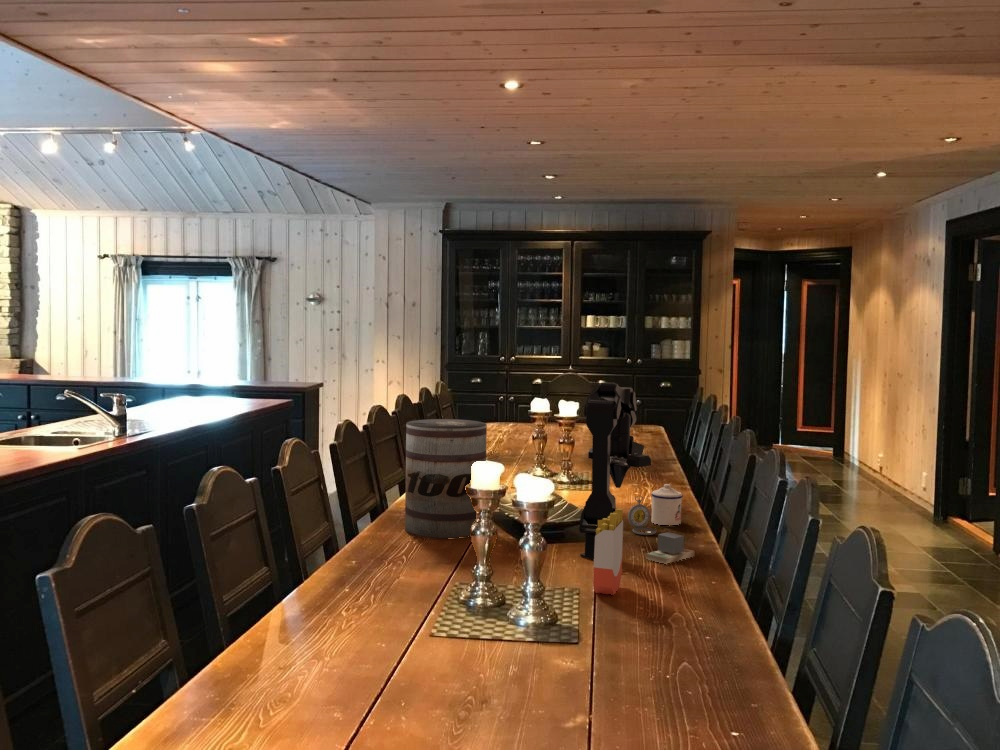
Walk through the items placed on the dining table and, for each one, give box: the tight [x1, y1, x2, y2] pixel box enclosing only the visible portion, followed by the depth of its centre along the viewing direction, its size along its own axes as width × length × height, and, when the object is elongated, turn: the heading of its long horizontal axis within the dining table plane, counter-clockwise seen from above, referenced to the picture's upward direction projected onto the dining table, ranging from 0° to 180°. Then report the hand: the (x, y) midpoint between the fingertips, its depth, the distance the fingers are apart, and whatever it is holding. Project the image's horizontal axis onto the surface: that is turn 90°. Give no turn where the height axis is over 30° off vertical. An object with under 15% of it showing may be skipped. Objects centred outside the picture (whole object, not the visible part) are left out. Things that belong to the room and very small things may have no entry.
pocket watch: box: [627, 495, 657, 536], centre depth 250 cm, size 8×8×10 cm
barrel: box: [404, 418, 488, 540], centre depth 248 cm, size 22×22×30 cm
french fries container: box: [592, 508, 624, 596], centre depth 195 cm, size 5×11×18 cm, turn 161°
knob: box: [657, 531, 685, 554], centre depth 223 cm, size 4×5×4 cm
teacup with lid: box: [650, 483, 684, 527], centre depth 263 cm, size 12×9×12 cm
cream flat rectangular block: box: [645, 547, 695, 565], centre depth 223 cm, size 12×6×2 cm, turn 131°
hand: (618, 487), depth 246 cm, fingers closed
